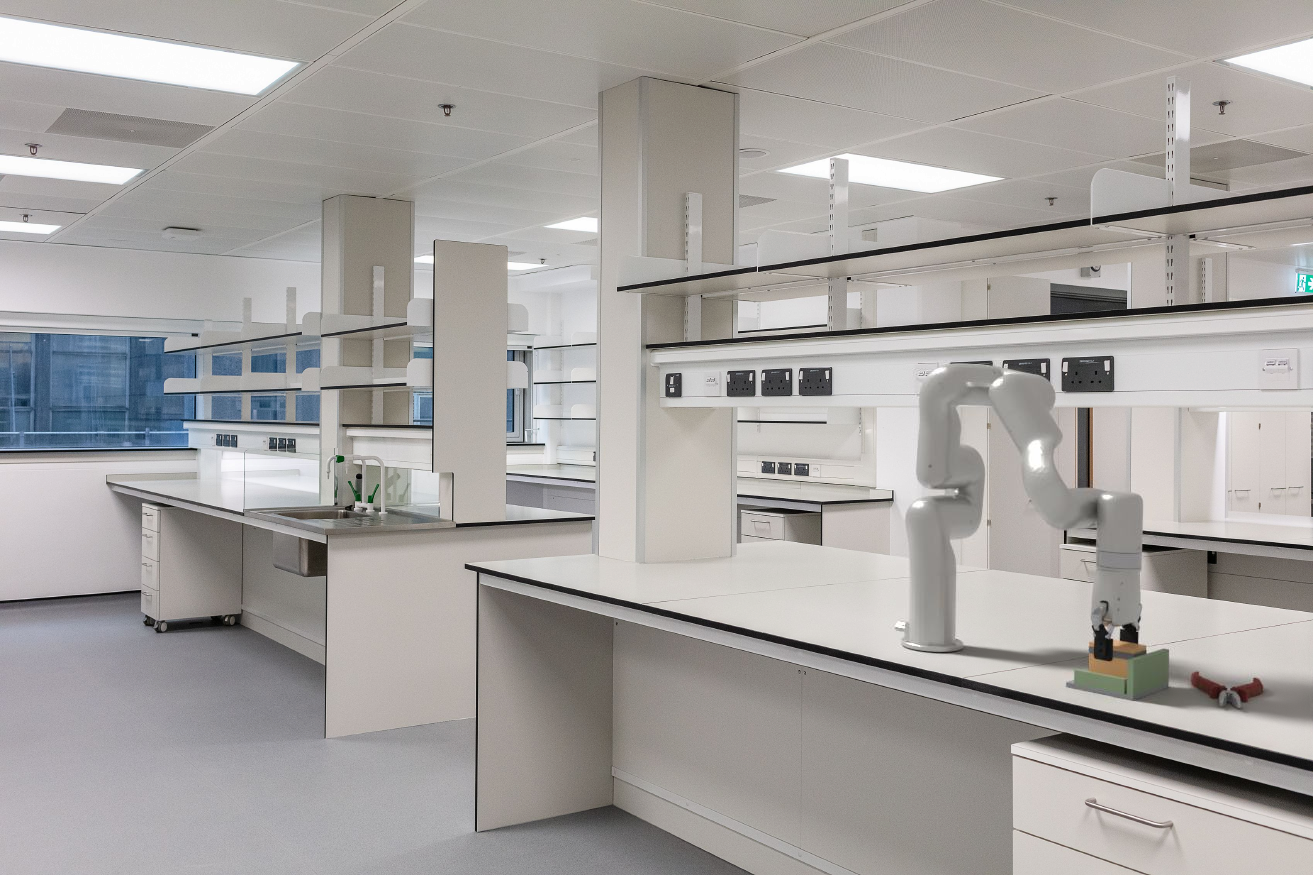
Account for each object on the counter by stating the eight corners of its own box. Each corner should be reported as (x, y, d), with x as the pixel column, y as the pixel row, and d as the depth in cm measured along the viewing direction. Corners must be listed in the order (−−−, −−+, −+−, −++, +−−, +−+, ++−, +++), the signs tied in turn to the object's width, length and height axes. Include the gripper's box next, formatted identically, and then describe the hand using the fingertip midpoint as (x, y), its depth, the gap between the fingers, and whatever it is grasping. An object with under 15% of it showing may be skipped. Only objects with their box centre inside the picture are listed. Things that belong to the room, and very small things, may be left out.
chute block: (1088, 680, 190) (1088, 641, 190) (1101, 675, 194) (1102, 637, 194) (1133, 689, 184) (1133, 649, 184) (1146, 684, 188) (1146, 645, 188)
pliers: (1191, 708, 176) (1192, 693, 176) (1190, 682, 194) (1190, 668, 194) (1270, 718, 171) (1271, 702, 171) (1261, 690, 189) (1262, 676, 189)
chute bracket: (1066, 686, 189) (1066, 648, 189) (1103, 674, 198) (1103, 638, 198) (1132, 700, 180) (1133, 660, 180) (1168, 687, 189) (1169, 649, 189)
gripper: (1120, 554, 197) (1117, 645, 198) (1074, 562, 186) (1072, 658, 186) (1161, 559, 192) (1158, 653, 192) (1116, 567, 180) (1114, 667, 181)
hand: (1116, 655), depth 189 cm, fingers open, 9 cm apart
